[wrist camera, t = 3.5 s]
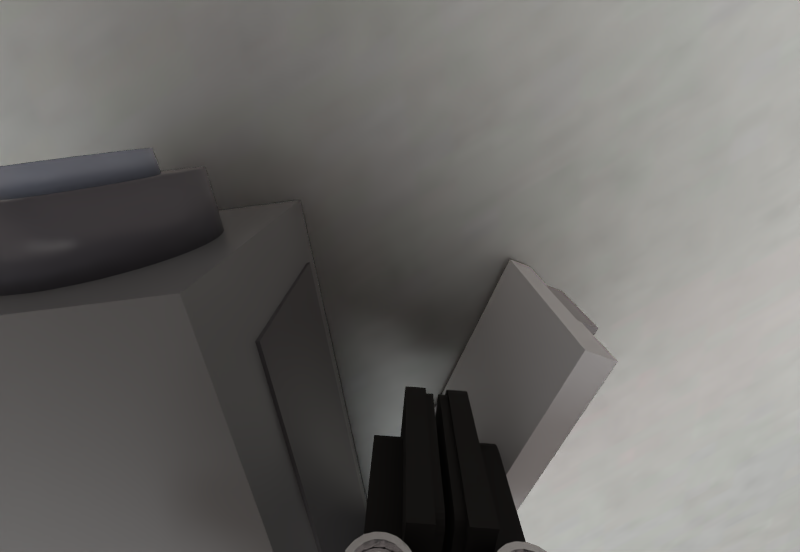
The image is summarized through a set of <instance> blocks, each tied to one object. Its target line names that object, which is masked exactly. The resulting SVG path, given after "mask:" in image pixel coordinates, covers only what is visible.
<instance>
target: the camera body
mask: <svg viewBox="0 0 800 552" xmlns="http://www.w3.org/2000/svg"><path fill="white" fill-rule="evenodd" d="M366 508H367V502H366V497H365V492H364V488H363V483H362V479H361V474H360V470H359V465H358V461H357V456H356V451H355V447H354V442H353V438H352V433H351V429H350V424H349V420H348V415H347V410H346V406H345V401H344V397H343V392H342V388H341V383H340V379H339V374H338V369H337V365H336V360H335V356H334V351H333V347H332V342H331V338H330V333H329V328H328V324H327V319H326V315H325V310H324V306H323V301H322V297H321V292H320V287H319V283H318V278H317V274H316V269H315V265H314V260H313V256H312V251H311V247H310V242H309V237H308V233H307V228H306V224H305V219H304V215H303V210H302V206H301V201H300V200H295V201H287V202H279V203H272V204H264V205H256V206H249V207H241V208H233V209H226V210H218V208H217V205H216V201H215V198H214V194H213V191H212V188H211V184H210V181H209V178H208V174H207V171H206V168H205V167H193V168H183V169H175V170H167V171H160V169H159V166H158V163H157V160H156V157H155V154H154V151H153V148H145V149H135V150H126V151H117V152H108V153H100V154H92V155H83V156H75V157H67V158H59V159H52V160H44V161H36V162H29V163H21V164H14V165H7V166H0V552H345V550H346V549H347V548H348V546H349V545H350V544H351V543H352V542H353V541H354V540H355V539H357V538H359V537H360V536H362V535H364V527H365V518H366Z"/></svg>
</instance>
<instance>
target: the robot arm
mask: <svg viewBox="0 0 800 552" xmlns="http://www.w3.org/2000/svg"><path fill="white" fill-rule="evenodd" d="M345 552H546V551H545V550H543V549H542V548H540V547H539V546H536V545H533V544H530V543H528V542H525V538H524V535H523V531H522V528H521V525H520V521H519V518H518V514H517V511H516V507H515V504H514V501H513V497H512V494H511V490H510V487H509V484H508V480H507V477H506V473H505V470H504V466H503V463H502V460H501V456H500V453H499V450H498V447H497V446H496V444H490V443H479V439H478V435H477V431H476V427H475V422H474V418H473V414H472V410H471V406H470V401H469V397H468V393H467V391H459V390H446V392H445V395H440V394H439V395H438V400H437V407H436V415H435V409H434V399H433V394H426V389H425V388H419V387H406V388H405V397H404V407H403V417H402V428H401V437H393V436H379V435H374V443H373V452H372V461H371V471H370V480H369V489H368V499H367V508H366V518H365V527H364V535H362V536H360V537H359V538H357V539H355V540H354V541H353V542H352V543H351V544H350V545H349V546H348V548H347V549H346V550H345Z"/></svg>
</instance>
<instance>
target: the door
mask: <svg viewBox="0 0 800 552" xmlns="http://www.w3.org/2000/svg"><path fill="white" fill-rule="evenodd" d="M597 329H598V327H597V326H596V325H595V324H594V323H593V322H592V321H591V320H590V319H589V318H588V317H587V316H586V315H585V314H584V313H583V312H582V311H581V310H580V309H579V308H578V307H577V306H576V305H575V304H574V303H573V302H572V301H571V300H570V299H569V298H568V297H567V296H566V295H565V294H564V293H563V292H562V291H560V290H557V289H555V288H552V287H549V286H548V285H547V284H546V283H545V282H544V281H543V280H542V279H541V278H540V277H539V276H538V275H537V274H536V272H535V271H534V270H533V269H532V268H531V267H530V266H527V265H524V264H522V263H519V262H516V261H514V260H511V259H510V260H509V262H508V264H507V266H506V268H505V270H504V272H503V274H502V276H501V278H500V280H499V282H498V284H497V286H496V288H495V290H494V292H493V294H492V296H491V298H490V300H489V302H488V304H487V306H486V308H485V310H484V312H483V314H482V316H481V318H480V320H479V322H478V324H477V326H476V328H475V330H474V332H473V334H472V336H471V337H470V339H469V341H468V343H467V345H466V347H465V349H464V351H463V353H462V355H461V357H460V359H459V361H458V363H457V365H456V367H455V369H454V371H453V373H452V375H451V377H450V379H449V381H448V383H447V385H446V387H445V389H444V391H443V393H442V395H445V392H446V390H459V391H467V393H468V397H469V401H470V406H471V410H472V414H473V418H474V422H475V427H476V431H477V435H478V439H479V443H490V444H496V446H497V447H498V450H499V453H500V456H501V460H502V463H503V466H504V470H505V473H506V477H507V480H508V484H509V487H510V490H511V494H512V497H513V501H514V504H515V507H516V511H517V510H518V508H519V507H520V505H521V504H522V502H523V501H524V500H525V498H526V497H527V495H528V494H529V492H530V491H531V489H532V488H533V486H534V485H535V483H536V482H537V480H538V479H539V477H540V476H541V474H542V473H543V471H544V470H545V468H546V467H547V465H548V464H549V463H550V461H551V460H552V458H553V457H554V455H555V454H556V452H557V451H558V449H559V448H560V446H561V445H562V443H563V442H564V440H565V439H566V437H567V436H568V434H569V433H570V431H571V430H572V428H573V427H574V426H575V424H576V423H577V421H578V420H579V418H580V417H581V415H582V414H583V412H584V411H585V409H586V408H587V406H588V405H589V403H590V402H591V400H592V399H593V397H594V396H595V394H596V393H597V391H598V390H599V389H600V387H601V386H602V384H603V383H604V381H605V380H606V378H607V377H608V375H609V374H610V372H611V371H612V369H613V368H614V366H615V365H616V363H617V362H618V361H617V360H616V359H615V358H614V357H613V356H612V355H611V354H610V353H609V352H608V350H607V349H606V348H605V347H604V346H603V345H602V344H601V343H600V342H599V341H598V340H597V339H596V337H595V336H594V334H595V332H596V331H597ZM436 407H437V405H436ZM436 407H435V415H436Z"/></svg>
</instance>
